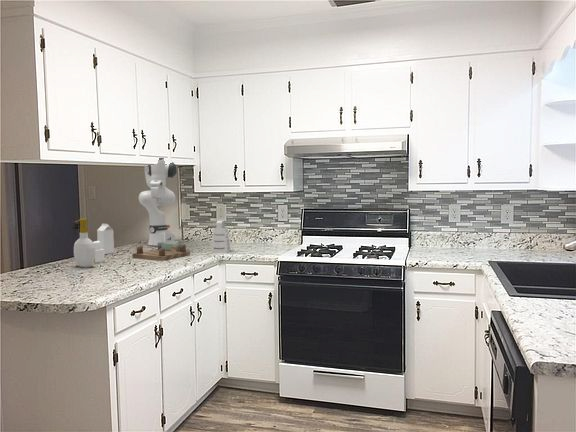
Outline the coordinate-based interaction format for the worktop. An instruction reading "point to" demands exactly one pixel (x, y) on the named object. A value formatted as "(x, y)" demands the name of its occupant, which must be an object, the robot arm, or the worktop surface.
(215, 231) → the grey tiered tower
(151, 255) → the stool seat
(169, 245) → the hinged leg
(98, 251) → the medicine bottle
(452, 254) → the worktop surface
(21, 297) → the worktop surface
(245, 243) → the worktop surface
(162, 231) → the robot arm
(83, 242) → the soap bottle
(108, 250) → the milk carton
